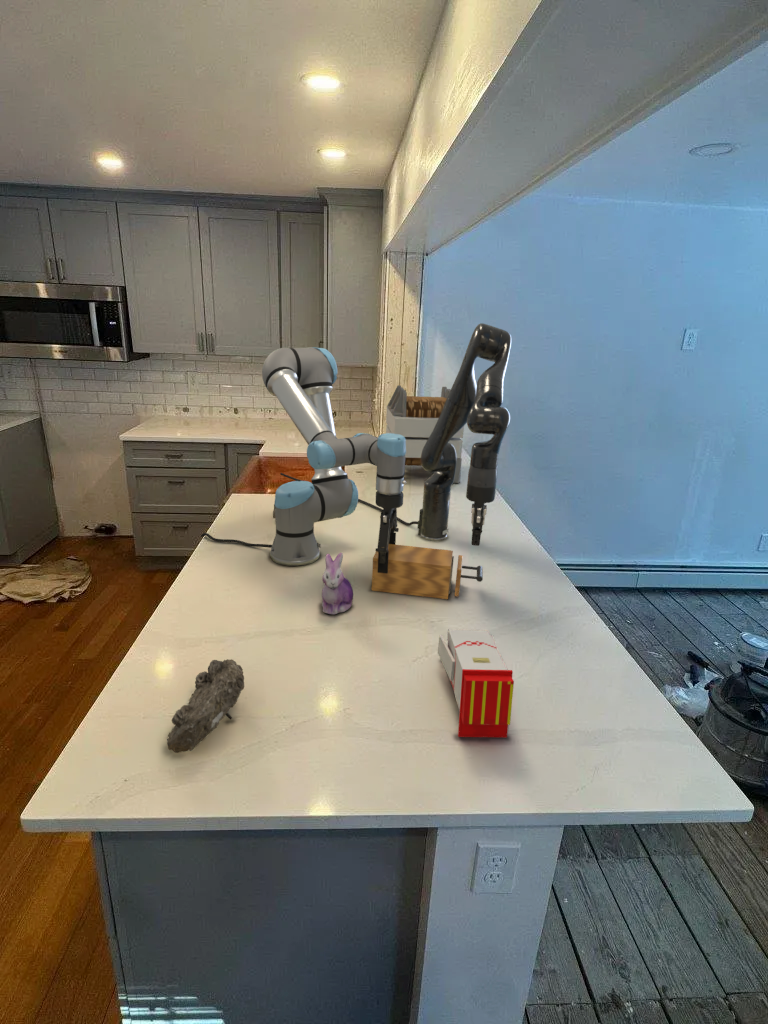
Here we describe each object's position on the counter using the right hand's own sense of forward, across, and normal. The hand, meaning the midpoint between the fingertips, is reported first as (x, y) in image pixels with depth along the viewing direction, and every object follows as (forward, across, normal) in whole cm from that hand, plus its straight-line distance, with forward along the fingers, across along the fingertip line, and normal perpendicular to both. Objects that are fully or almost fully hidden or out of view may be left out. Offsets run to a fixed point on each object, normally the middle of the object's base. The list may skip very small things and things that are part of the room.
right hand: (475, 542), depth 155 cm
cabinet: (+16, 0, +17) cm, 23 cm away
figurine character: (+16, +42, +69) cm, 83 cm away
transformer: (+16, +119, +27) cm, 123 cm away
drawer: (+15, 0, +10) cm, 18 cm away
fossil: (+16, -63, +48) cm, 81 cm away
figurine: (+16, -17, +35) cm, 41 cm away
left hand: (+9, 0, +24) cm, 26 cm away
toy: (+16, -45, -1) cm, 47 cm away
